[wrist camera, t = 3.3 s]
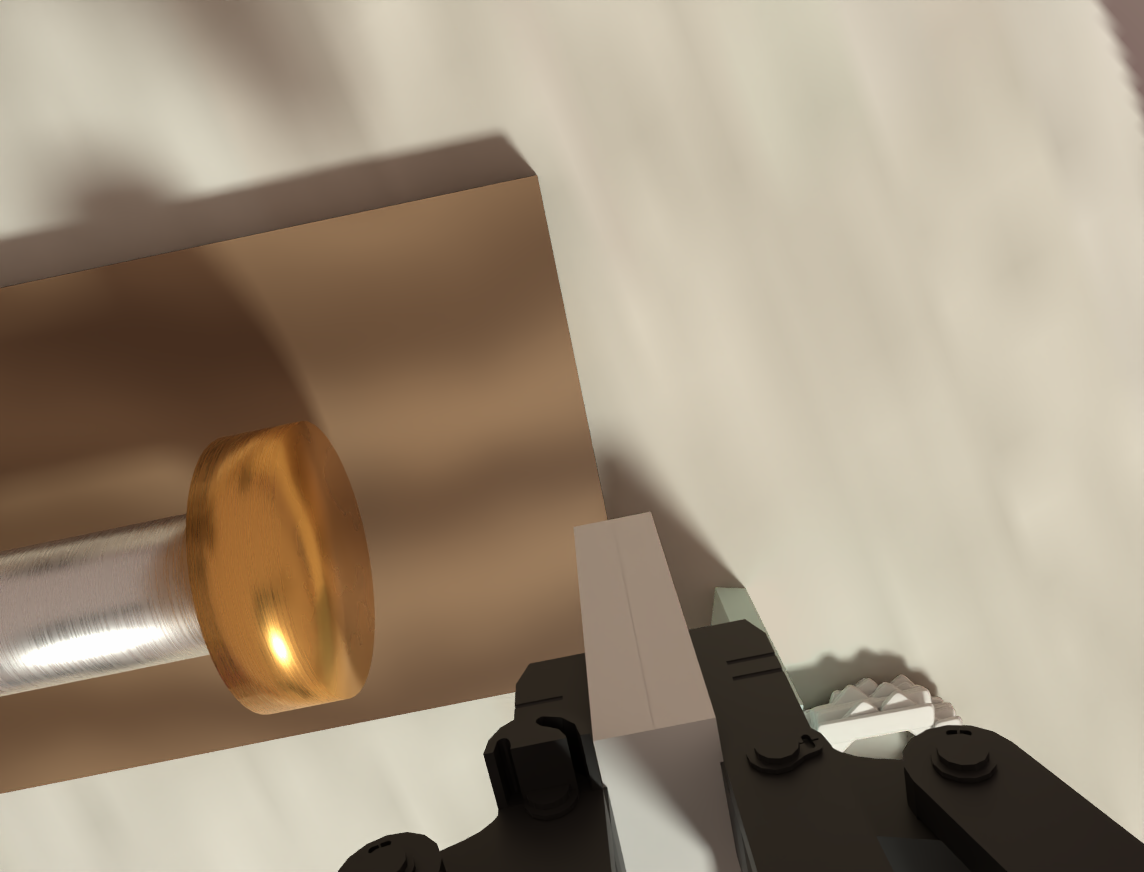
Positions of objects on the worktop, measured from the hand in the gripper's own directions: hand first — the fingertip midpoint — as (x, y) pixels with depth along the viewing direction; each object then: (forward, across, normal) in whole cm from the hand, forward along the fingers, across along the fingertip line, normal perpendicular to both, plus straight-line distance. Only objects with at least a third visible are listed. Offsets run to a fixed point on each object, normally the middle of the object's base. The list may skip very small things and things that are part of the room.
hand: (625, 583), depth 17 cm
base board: (+12, +17, 0) cm, 21 cm away
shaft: (+9, +18, 0) cm, 20 cm away
